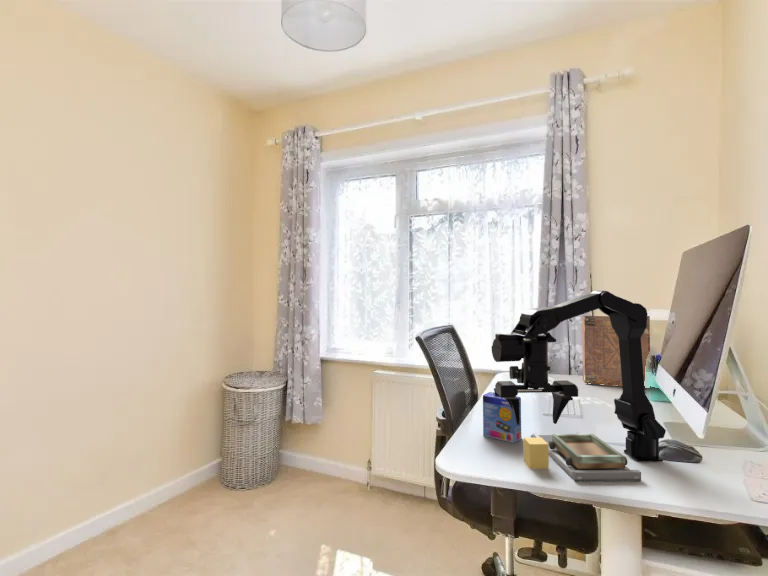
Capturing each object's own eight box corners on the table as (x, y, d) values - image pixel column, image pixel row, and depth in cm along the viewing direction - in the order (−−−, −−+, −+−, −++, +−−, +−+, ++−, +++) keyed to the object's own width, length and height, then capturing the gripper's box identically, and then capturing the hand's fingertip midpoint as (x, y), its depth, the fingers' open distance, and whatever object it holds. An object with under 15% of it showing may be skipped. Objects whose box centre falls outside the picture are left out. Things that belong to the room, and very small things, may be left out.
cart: (597, 444, 112) (597, 433, 112) (631, 469, 97) (631, 456, 97) (546, 445, 112) (546, 434, 112) (572, 469, 97) (572, 457, 97)
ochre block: (541, 461, 105) (541, 437, 105) (548, 469, 101) (548, 444, 101) (523, 461, 105) (523, 437, 105) (530, 469, 101) (529, 444, 101)
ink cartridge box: (481, 436, 123) (481, 387, 123) (490, 431, 127) (489, 383, 127) (514, 444, 117) (514, 392, 117) (522, 438, 121) (521, 388, 121)
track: (581, 436, 122) (581, 429, 122) (641, 480, 94) (641, 472, 94) (530, 436, 122) (530, 430, 122) (575, 481, 94) (575, 472, 94)
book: (644, 383, 187) (644, 316, 186) (650, 388, 178) (650, 318, 178) (582, 380, 195) (582, 315, 195) (584, 384, 186) (584, 317, 186)
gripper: (559, 354, 111) (559, 413, 111) (489, 355, 111) (489, 414, 111) (579, 362, 100) (579, 427, 100) (501, 363, 100) (502, 428, 100)
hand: (536, 423), depth 103 cm, fingers open, 9 cm apart
